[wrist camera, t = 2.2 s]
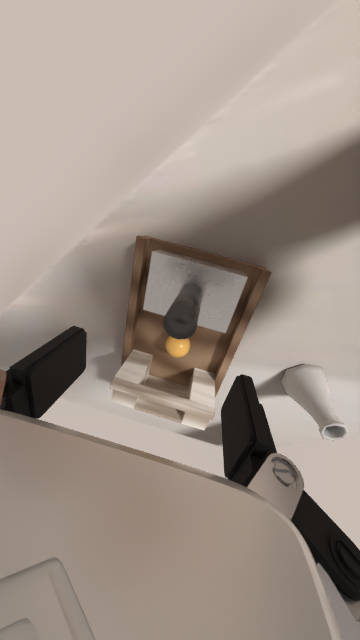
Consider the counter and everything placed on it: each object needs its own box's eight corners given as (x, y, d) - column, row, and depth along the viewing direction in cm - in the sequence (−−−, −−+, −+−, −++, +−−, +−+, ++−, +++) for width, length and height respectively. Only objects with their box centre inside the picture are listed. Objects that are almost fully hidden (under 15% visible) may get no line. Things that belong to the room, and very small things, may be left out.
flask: (280, 395, 36) (302, 449, 27) (280, 364, 33) (304, 413, 24) (324, 394, 34) (363, 451, 25) (327, 361, 31) (372, 412, 22)
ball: (171, 325, 32) (165, 337, 28) (194, 332, 32) (191, 344, 28) (166, 344, 34) (160, 358, 30) (188, 351, 33) (185, 365, 30)
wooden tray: (145, 235, 28) (111, 237, 19) (264, 267, 27) (290, 285, 18) (127, 364, 39) (100, 405, 30) (212, 390, 38) (211, 440, 29)
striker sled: (160, 248, 27) (118, 260, 15) (243, 271, 26) (266, 301, 14) (151, 300, 30) (111, 342, 19) (224, 321, 30) (230, 378, 18)
